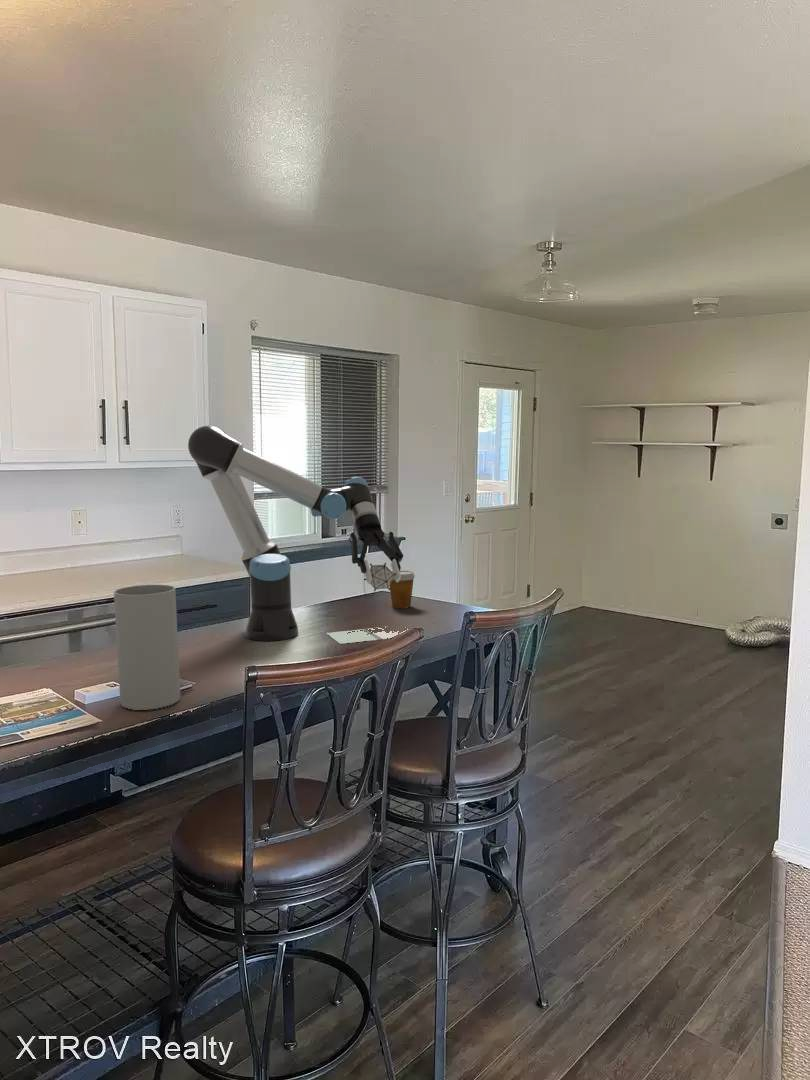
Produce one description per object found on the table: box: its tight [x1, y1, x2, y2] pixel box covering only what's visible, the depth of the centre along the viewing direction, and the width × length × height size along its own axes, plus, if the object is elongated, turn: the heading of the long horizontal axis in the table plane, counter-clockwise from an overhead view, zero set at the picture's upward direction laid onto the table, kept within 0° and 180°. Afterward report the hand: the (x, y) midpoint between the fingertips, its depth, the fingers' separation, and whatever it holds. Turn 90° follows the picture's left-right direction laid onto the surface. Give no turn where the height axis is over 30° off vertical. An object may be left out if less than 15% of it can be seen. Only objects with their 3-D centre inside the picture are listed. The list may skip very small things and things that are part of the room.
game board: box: [325, 626, 408, 645], centre depth 230 cm, size 24×14×1 cm, turn 112°
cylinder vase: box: [113, 584, 181, 710], centre depth 169 cm, size 12×12×25 cm
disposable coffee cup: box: [389, 570, 416, 609], centre depth 269 cm, size 10×10×12 cm
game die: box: [363, 562, 396, 592], centre depth 230 cm, size 9×8×10 cm
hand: (384, 580), depth 227 cm, fingers closed on game die, 8 cm apart
